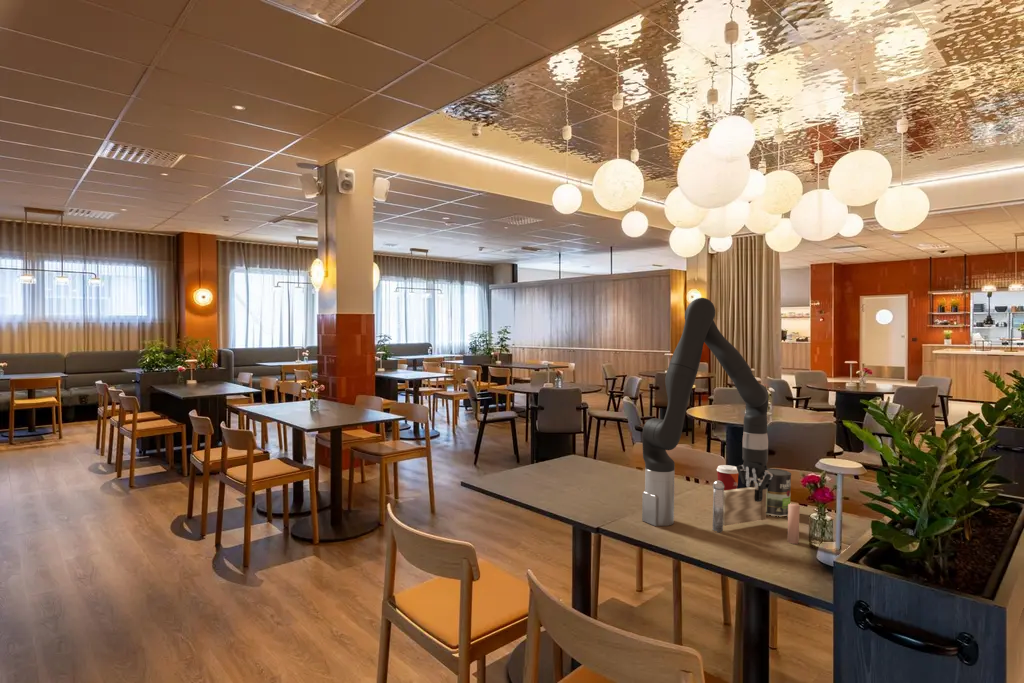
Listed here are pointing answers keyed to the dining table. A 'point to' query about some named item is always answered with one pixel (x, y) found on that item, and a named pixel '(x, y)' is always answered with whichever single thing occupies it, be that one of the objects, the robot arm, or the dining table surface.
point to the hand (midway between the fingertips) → (754, 499)
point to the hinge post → (718, 506)
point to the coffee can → (778, 493)
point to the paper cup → (728, 476)
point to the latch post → (793, 523)
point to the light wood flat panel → (743, 506)
